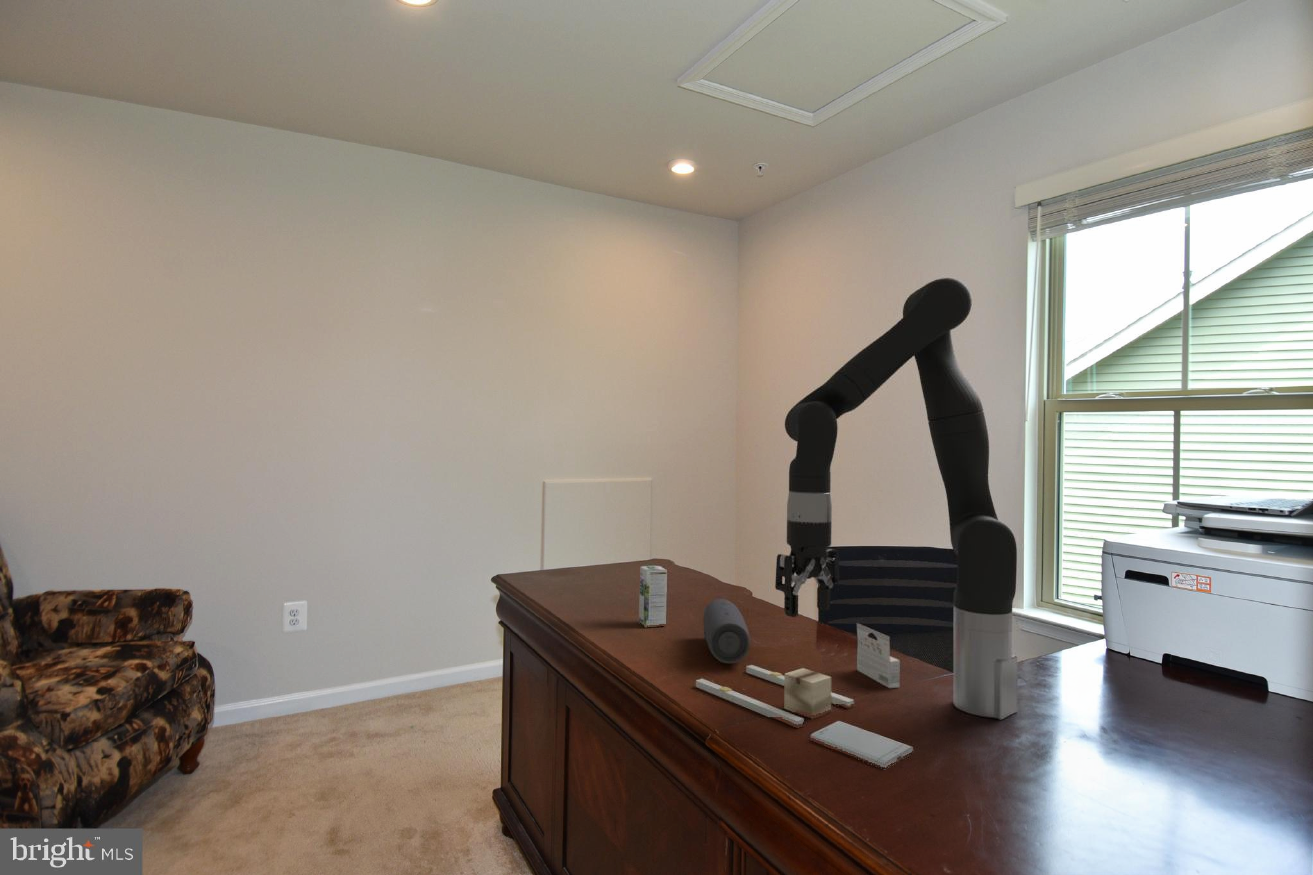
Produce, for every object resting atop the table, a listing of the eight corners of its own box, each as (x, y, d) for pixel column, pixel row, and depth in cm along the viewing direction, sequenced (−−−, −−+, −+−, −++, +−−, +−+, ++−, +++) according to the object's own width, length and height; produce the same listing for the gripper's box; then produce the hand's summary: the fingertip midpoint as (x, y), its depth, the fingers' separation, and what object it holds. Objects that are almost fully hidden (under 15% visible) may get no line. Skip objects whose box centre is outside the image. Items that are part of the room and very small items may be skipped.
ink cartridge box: (866, 669, 138) (866, 621, 138) (900, 688, 127) (900, 635, 128) (855, 670, 137) (856, 622, 138) (889, 689, 127) (889, 636, 127)
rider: (831, 712, 115) (831, 676, 115) (812, 719, 112) (812, 682, 112) (803, 702, 120) (803, 667, 120) (784, 708, 116) (784, 673, 117)
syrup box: (638, 622, 173) (638, 565, 173) (660, 621, 175) (660, 565, 175) (644, 628, 168) (645, 569, 168) (667, 626, 169) (667, 568, 170)
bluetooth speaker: (752, 670, 137) (753, 620, 137) (706, 669, 137) (707, 620, 137) (741, 639, 159) (741, 596, 160) (701, 638, 160) (701, 595, 160)
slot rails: (853, 706, 117) (853, 698, 117) (797, 728, 108) (797, 719, 108) (751, 670, 136) (751, 663, 136) (695, 686, 127) (695, 679, 127)
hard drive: (809, 733, 104) (884, 761, 94) (839, 719, 109) (913, 744, 100) (809, 744, 104) (884, 773, 94) (839, 730, 109) (913, 756, 100)
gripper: (799, 522, 109) (798, 623, 109) (852, 518, 118) (851, 611, 118) (764, 518, 115) (763, 614, 115) (817, 514, 124) (816, 603, 124)
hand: (807, 612), depth 116 cm, fingers open, 8 cm apart
